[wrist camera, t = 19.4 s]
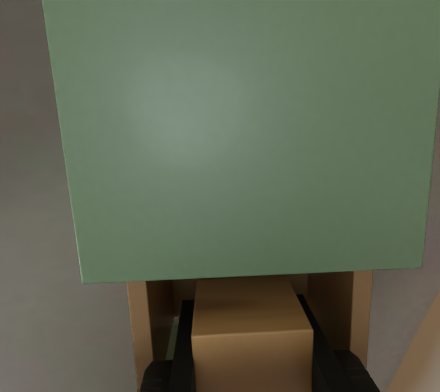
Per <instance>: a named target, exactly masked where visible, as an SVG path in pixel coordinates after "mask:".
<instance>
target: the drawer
mask: <svg viewBox="0 0 440 392" xmlns="http://www.w3.org/2000/svg"><path fill="white" fill-rule="evenodd" d="M282 275H286V276H287V277H288V279H289V281H290V283H291V286H292V288H293V290H294V292H295V294H303V296H304V298H305V300H306V301H307V303H308V305H309V307H310V309H311V311H312V313H313V315H314V316H315V318H316V320H317V322H318V324H319V326H320V328H321V330H322V331H323V333H324V335H325V337H326V339H327V341H328V343H329V345H330V347H331V348H332V350H346V349H349V350H350V351H351V352H352V353H354V354H355V355H356V356H357V357H359V359H360V360H361V362H362V364H363V365H364V367H365V370H366V368H367V352H368V337H369V321H370V306H371V291H372V275H373V270H366V271H345V272H324V273H303V274H282ZM282 275H260V276H239V277H218V278H197V279H176V280H155V281H133V282H126V283H127V292H128V301H129V310H130V319H131V328H132V337H133V346H134V355H135V364H136V373H137V382H138V390H137V392H139V391H140V387H141V383H142V379H143V375H144V372H145V369H146V368H147V367H148V366H149V364H150V363H151V362H152V361H156V360H173V356H174V350H175V343H176V337H177V331H178V326H172V325H173V320H174V317H180V312H181V306H182V300H194V299H195V291H196V281H197V280H200V279H221V278H241V277H262V276H282Z"/></svg>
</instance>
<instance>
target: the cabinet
mask: <svg viewBox="0 0 440 392" xmlns="http://www.w3.org/2000/svg"><path fill="white" fill-rule="evenodd" d="M42 5H43V12H44V19H45V26H46V33H47V40H48V47H49V54H50V61H51V68H52V75H53V82H54V89H55V96H56V103H57V110H58V117H59V125H60V132H61V139H62V146H63V153H64V160H65V167H66V174H67V181H68V188H69V195H70V202H71V209H72V216H73V223H74V230H75V237H76V244H77V251H78V258H79V265H80V272H81V279H82V283H83V284H91V283H112V282H133V281H155V280H176V279H197V278H218V277H239V276H260V275H282V274H303V273H324V272H345V271H366V270H388V269H409V268H421V267H422V263H423V253H424V243H425V233H426V223H427V213H428V203H429V193H430V183H431V173H432V163H433V153H434V143H435V133H436V123H437V113H438V103H439V93H440V0H42Z"/></svg>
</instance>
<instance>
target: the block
mask: <svg viewBox="0 0 440 392" xmlns="http://www.w3.org/2000/svg"><path fill="white" fill-rule="evenodd" d="M191 340H192V355H193V362H194V377H195V392H312V365H313V329H312V326H311V324H310V322H309V320H308V318H307V316H306V314H305V312H304V310H303V308H302V306H301V304H300V302H299V300H298V298H297V296H296V294H295V292H294V290H293V288H292V286H291V283H290V281H289V279H288V277H287V276H286V275H282V276H262V277H241V278H221V279H200V280H197V281H196V291H195V302H194V313H193V324H192V335H191Z"/></svg>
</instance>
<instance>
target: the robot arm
mask: <svg viewBox="0 0 440 392" xmlns="http://www.w3.org/2000/svg"><path fill="white" fill-rule="evenodd" d="M296 296H297V298H298V300H299V302H300V304H301V306H302V308H303V310H304V312H305V314H306V316H307V318H308V320H309V322H310V324H311V326H312V329H313V365H312V392H380V391H379V389H378V387H377V386H376V384H375V383H374V381H373V379H372V378H371V377H370V375H369V373H368V371H367V370H365V367H364V365H363V364H362V362H361V360H360V359H359V357H357V356H356V355H355V354H354V353H352V352H351V351H350V350H349V349H346V350H332V348H331V347H330V345H329V343H328V341H327V339H326V337H325V335H324V333H323V331H322V330H321V328H320V326H319V324H318V322H317V320H316V318H315V316H314V315H313V313H312V311H311V309H310V307H309V305H308V303H307V301H306V300H305V298H304V296H303V294H296ZM194 302H195V299H194V300H182V306H181V312H180V318H179V324H178V331H177V337H176V343H175V350H174V356H173V360H156V361H152V362H151V363H150V364H149V366H148V367H147V368H146V369H145V372H144V375H143V379H142V383H141V387H140V391H139V392H195V377H194V362H193V355H192V340H191V335H192V324H193V313H194Z"/></svg>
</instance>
